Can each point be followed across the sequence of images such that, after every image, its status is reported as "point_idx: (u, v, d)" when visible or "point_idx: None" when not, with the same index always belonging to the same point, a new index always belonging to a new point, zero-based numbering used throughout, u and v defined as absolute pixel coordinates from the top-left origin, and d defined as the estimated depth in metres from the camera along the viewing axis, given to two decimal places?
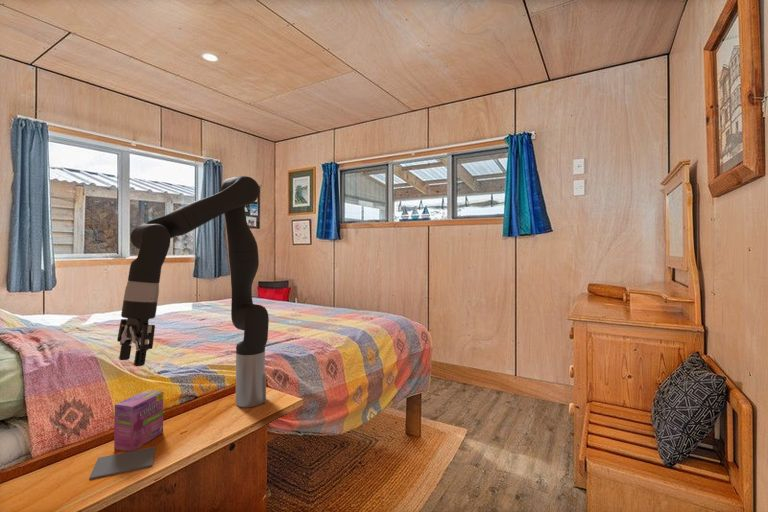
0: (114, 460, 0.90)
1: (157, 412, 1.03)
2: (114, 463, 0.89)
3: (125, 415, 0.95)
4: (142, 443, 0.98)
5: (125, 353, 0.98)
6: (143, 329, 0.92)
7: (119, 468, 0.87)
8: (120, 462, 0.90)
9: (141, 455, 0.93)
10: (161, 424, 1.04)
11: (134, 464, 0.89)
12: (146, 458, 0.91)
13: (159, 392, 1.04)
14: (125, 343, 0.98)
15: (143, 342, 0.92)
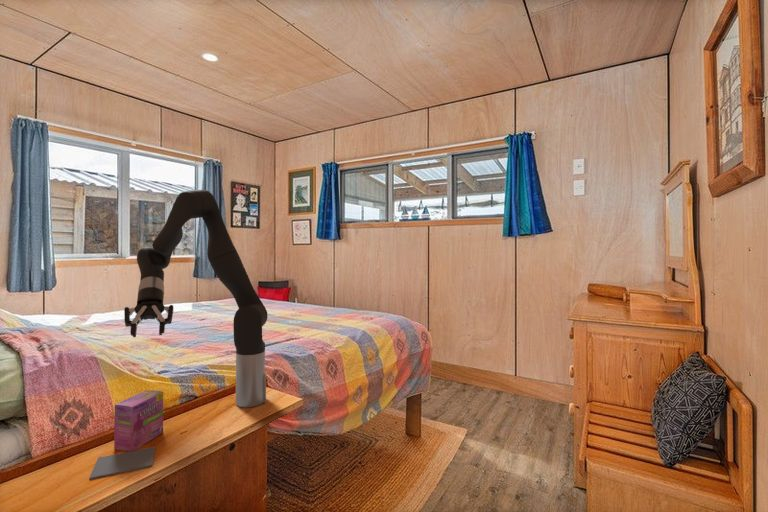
0: (114, 460, 0.90)
1: (157, 412, 1.03)
2: (114, 463, 0.89)
3: (125, 415, 0.95)
4: (142, 443, 0.98)
5: (159, 329, 1.20)
6: None
7: (119, 468, 0.87)
8: (120, 462, 0.90)
9: (141, 455, 0.93)
10: (161, 424, 1.04)
11: (134, 464, 0.89)
12: (146, 458, 0.91)
13: (159, 392, 1.04)
14: None
15: None
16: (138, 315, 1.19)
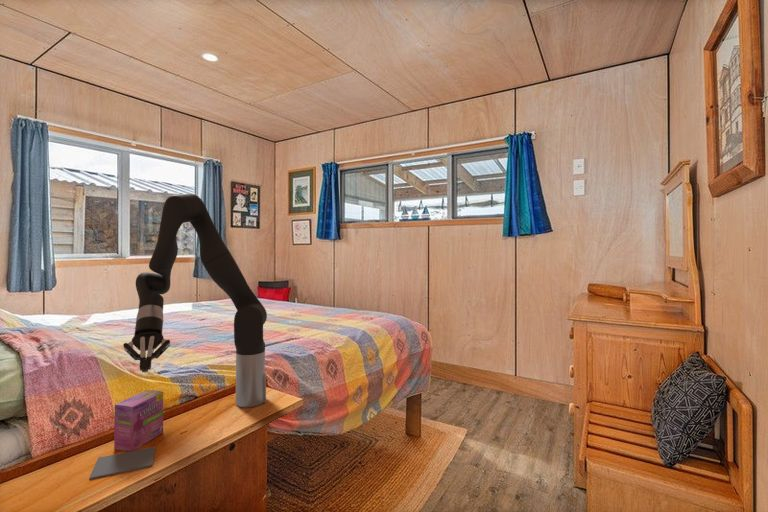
0: (114, 460, 0.90)
1: (157, 412, 1.03)
2: (114, 463, 0.89)
3: (125, 415, 0.95)
4: (142, 443, 0.98)
5: None
6: None
7: (119, 468, 0.87)
8: (120, 462, 0.90)
9: (141, 455, 0.93)
10: (161, 424, 1.04)
11: (134, 464, 0.89)
12: (146, 458, 0.91)
13: (159, 392, 1.04)
14: (146, 358, 1.14)
15: (132, 357, 1.14)
16: (143, 348, 1.14)
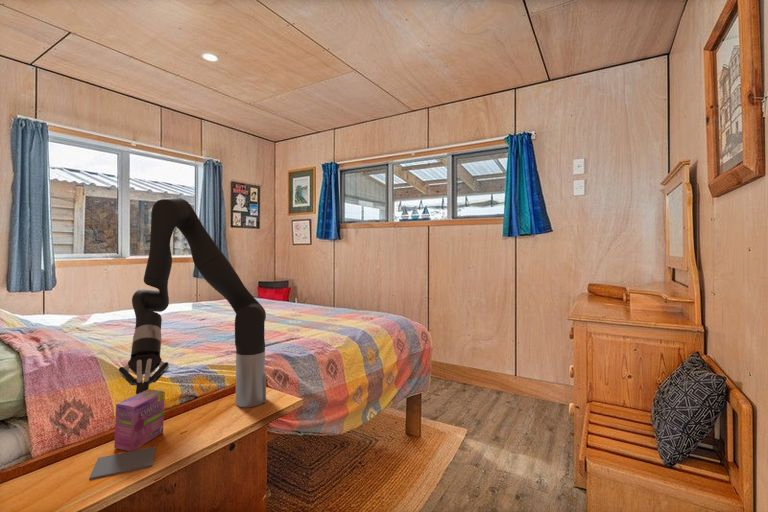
0: (114, 460, 0.90)
1: (158, 412, 1.03)
2: (114, 463, 0.89)
3: (126, 415, 0.95)
4: (142, 443, 0.98)
5: None
6: None
7: (119, 468, 0.87)
8: (120, 462, 0.90)
9: (141, 455, 0.93)
10: (161, 424, 1.04)
11: (134, 464, 0.89)
12: (146, 458, 0.91)
13: (160, 392, 1.04)
14: (143, 383, 1.08)
15: (128, 381, 1.07)
16: (139, 372, 1.07)
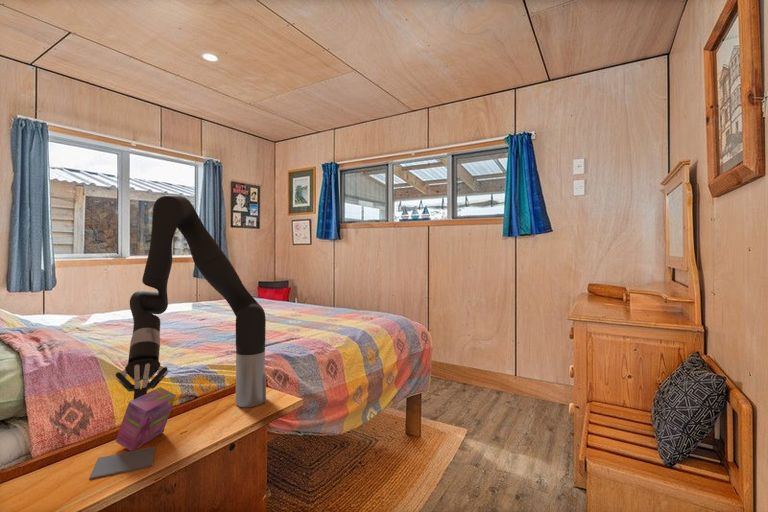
0: (114, 460, 0.90)
1: (164, 415, 1.02)
2: (114, 463, 0.89)
3: (136, 416, 0.94)
4: (143, 443, 0.98)
5: None
6: None
7: (119, 468, 0.87)
8: (120, 462, 0.90)
9: (141, 455, 0.93)
10: (164, 425, 1.04)
11: (134, 464, 0.89)
12: (146, 458, 0.91)
13: (172, 395, 1.03)
14: (141, 389, 1.03)
15: (125, 387, 1.03)
16: (137, 377, 1.03)
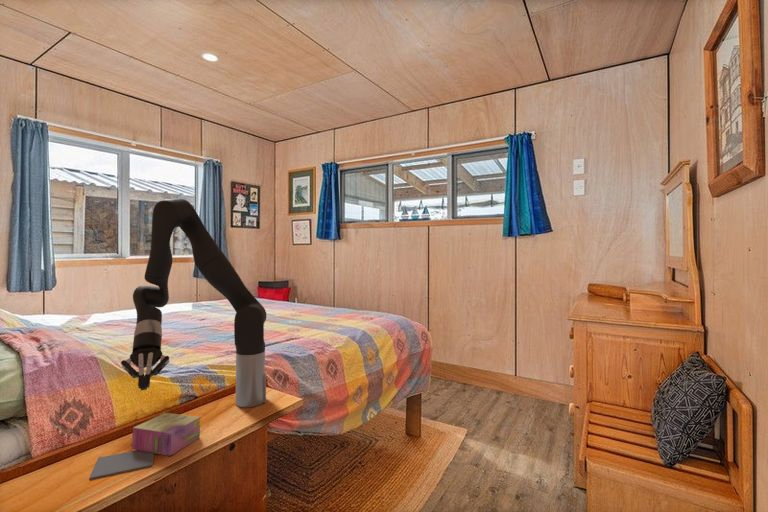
0: (114, 460, 0.90)
1: None
2: (114, 463, 0.89)
3: (162, 446, 0.93)
4: None
5: None
6: None
7: (119, 468, 0.87)
8: (120, 462, 0.90)
9: (141, 455, 0.93)
10: None
11: (134, 464, 0.89)
12: (146, 458, 0.91)
13: (197, 436, 1.02)
14: None
15: (130, 374, 1.11)
16: (141, 365, 1.11)
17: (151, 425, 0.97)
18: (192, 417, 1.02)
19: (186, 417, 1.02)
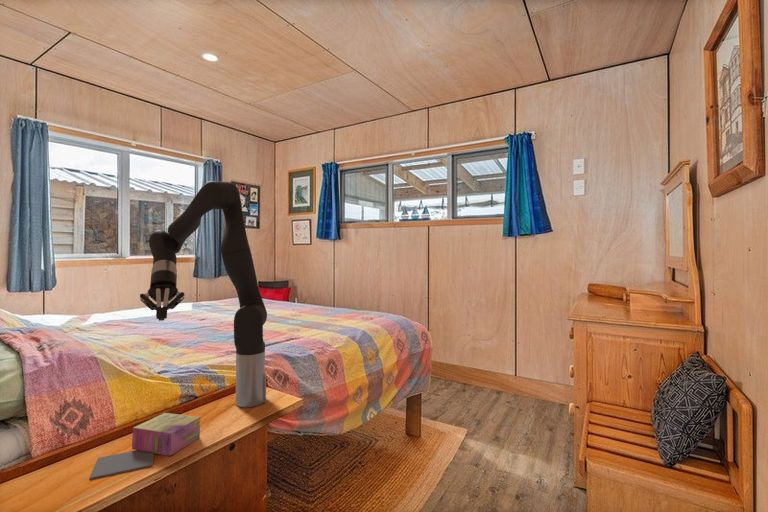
0: (114, 460, 0.90)
1: None
2: (114, 463, 0.89)
3: (162, 446, 0.93)
4: None
5: None
6: None
7: (119, 468, 0.87)
8: (120, 462, 0.90)
9: (141, 455, 0.93)
10: None
11: (134, 464, 0.89)
12: (146, 458, 0.91)
13: (197, 436, 1.02)
14: None
15: (148, 307, 1.18)
16: (158, 298, 1.18)
17: (151, 425, 0.97)
18: (192, 417, 1.02)
19: (186, 417, 1.02)
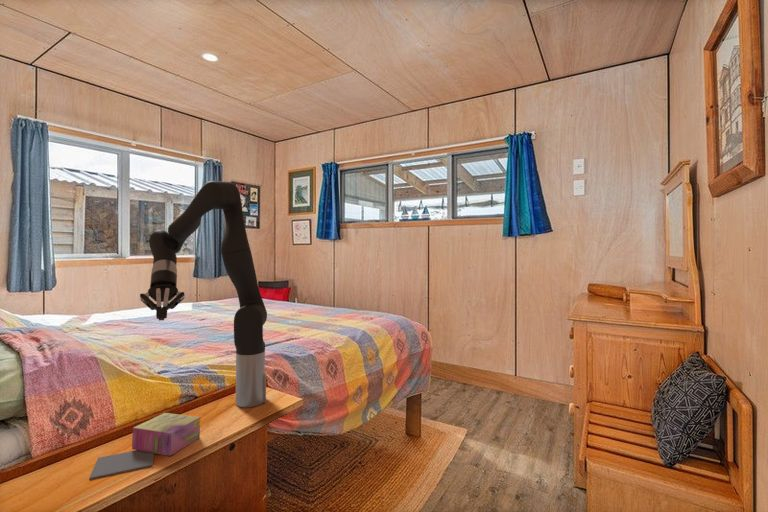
0: (114, 460, 0.90)
1: None
2: (114, 463, 0.89)
3: (162, 446, 0.93)
4: None
5: None
6: None
7: (119, 468, 0.87)
8: (120, 462, 0.90)
9: (141, 455, 0.93)
10: None
11: (134, 464, 0.89)
12: (146, 458, 0.91)
13: (197, 436, 1.02)
14: None
15: (148, 306, 1.18)
16: (159, 298, 1.18)
17: (151, 425, 0.97)
18: (192, 417, 1.02)
19: (186, 417, 1.02)
